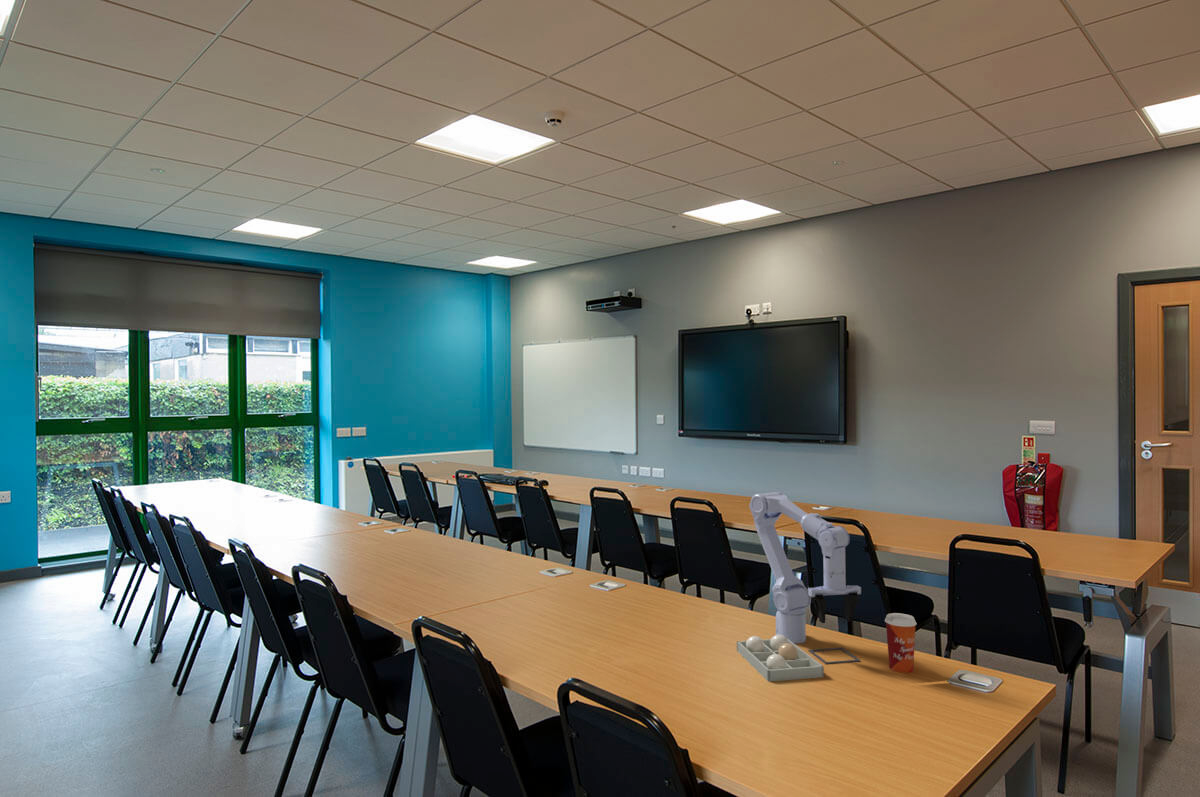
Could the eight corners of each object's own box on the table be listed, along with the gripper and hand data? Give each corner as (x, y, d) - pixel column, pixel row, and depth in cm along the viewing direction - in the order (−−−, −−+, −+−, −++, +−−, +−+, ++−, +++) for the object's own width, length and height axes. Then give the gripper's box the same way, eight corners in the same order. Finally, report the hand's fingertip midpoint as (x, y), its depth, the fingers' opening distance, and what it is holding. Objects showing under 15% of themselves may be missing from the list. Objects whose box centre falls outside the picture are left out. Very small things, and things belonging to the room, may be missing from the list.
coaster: (808, 653, 194) (808, 649, 194) (841, 651, 196) (841, 647, 196) (825, 667, 184) (825, 662, 184) (860, 664, 186) (860, 660, 186)
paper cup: (898, 677, 177) (897, 622, 177) (878, 667, 184) (878, 613, 184) (924, 674, 179) (923, 619, 179) (904, 663, 186) (903, 611, 186)
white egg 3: (763, 671, 180) (762, 651, 180) (781, 669, 181) (781, 650, 181) (771, 678, 175) (770, 658, 175) (789, 677, 176) (789, 657, 176)
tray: (736, 653, 195) (736, 641, 195) (786, 650, 198) (786, 637, 198) (768, 684, 173) (768, 670, 173) (823, 680, 176) (823, 666, 176)
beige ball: (778, 661, 188) (772, 644, 188) (795, 654, 189) (789, 637, 189) (786, 669, 183) (780, 651, 183) (803, 661, 184) (797, 644, 184)
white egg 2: (767, 650, 195) (767, 632, 195) (784, 649, 196) (784, 631, 196) (774, 656, 190) (774, 638, 190) (792, 655, 191) (791, 637, 191)
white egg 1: (743, 652, 194) (743, 634, 194) (760, 650, 195) (760, 632, 195) (749, 658, 189) (749, 640, 189) (767, 657, 190) (767, 638, 190)
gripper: (816, 576, 186) (817, 627, 186) (866, 573, 189) (867, 624, 189) (804, 570, 193) (805, 619, 193) (853, 567, 196) (853, 616, 196)
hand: (835, 621), depth 191 cm, fingers open, 7 cm apart
